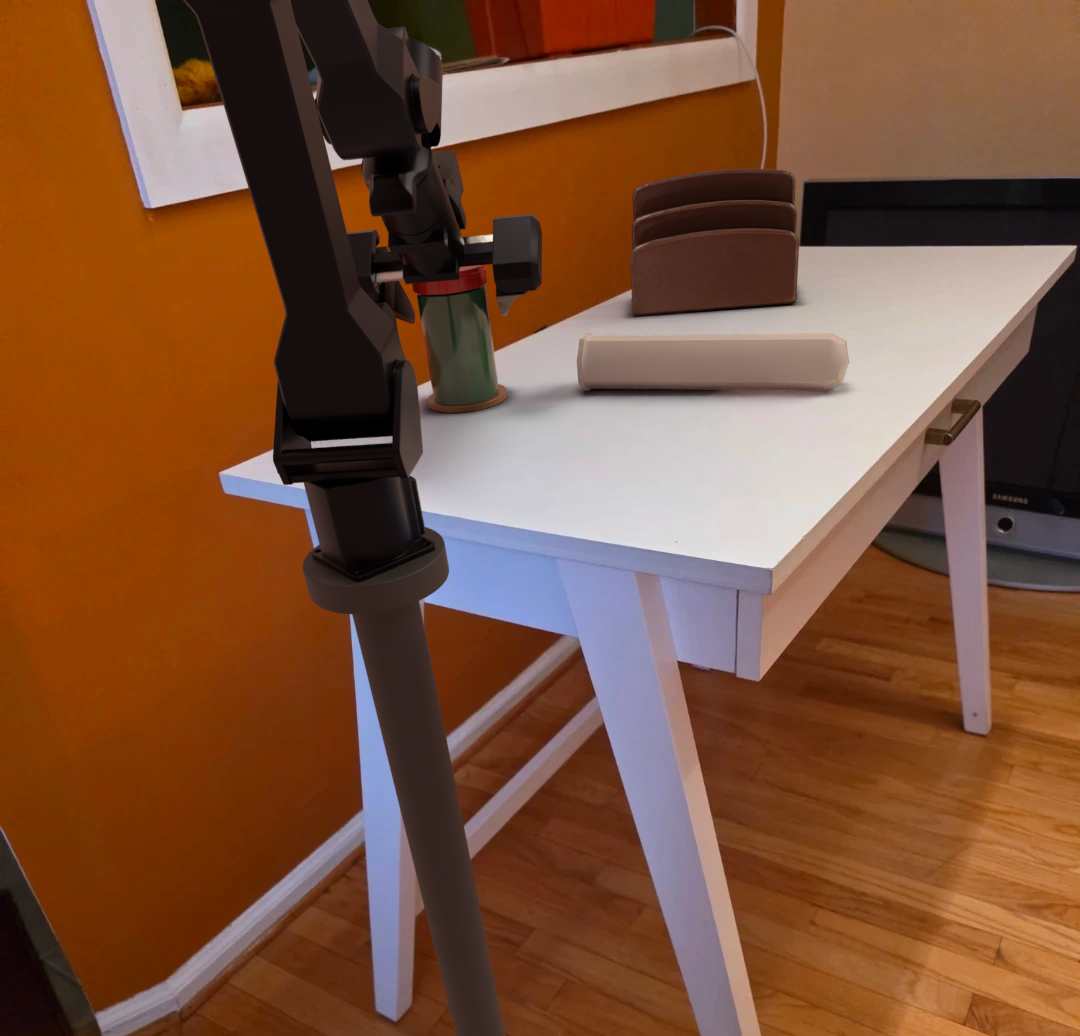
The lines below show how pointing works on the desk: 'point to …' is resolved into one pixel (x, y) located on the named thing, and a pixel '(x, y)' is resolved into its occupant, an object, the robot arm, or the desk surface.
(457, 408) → the disc
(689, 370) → the tube
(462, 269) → the lid
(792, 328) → the desk surface
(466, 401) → the jar
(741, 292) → the letter holder
